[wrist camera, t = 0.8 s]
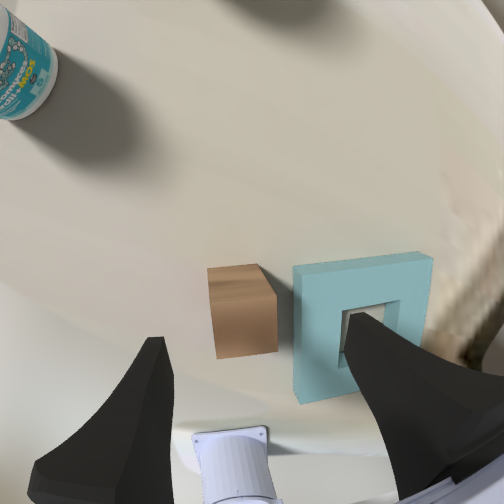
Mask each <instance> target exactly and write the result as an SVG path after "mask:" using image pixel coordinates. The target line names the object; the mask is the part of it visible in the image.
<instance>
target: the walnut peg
mask: <svg viewBox="0 0 504 504" xmlns="http://www.w3.org/2000/svg"><path fill="white" fill-rule="evenodd" d="M207 272H208V285H209V297H210V308H211V316H212V325H213V333H214V341H215V348H216V356H217V359H224V358H233V357H242V356H250V355H257V354H265V353H272V352H278V326H277V296H276V294H275V292H274V291H273V289H272V287H271V286H270V284H269V283H268V281H267V279H266V278H265V276H264V274H263V273H262V271H261V270H260V268H259V266H258V265H257V264H249V265H239V266H228V267H218V268H207Z"/></svg>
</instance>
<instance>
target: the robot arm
mask: <svg viewBox="0 0 504 504" xmlns="http://www.w3.org/2000/svg"><path fill="white" fill-rule="evenodd" d="M343 353H344V356H345V358H346V361H347V364H348V367H349V369H350V372H351V374H352V376H353V378H354V380H355V381H356V383H357V385H358V387H359V389H360V391H361V392H362V394H363V396H364V398H365V400H366V402H367V403H368V405H369V407H370V409H371V411H372V413H373V415H374V417H375V419H376V421H377V424H378V426H379V429H380V432H381V434H382V437H383V440H384V443H385V446H386V449H387V452H388V455H389V458H390V461H391V465H392V469H393V472H394V476H395V481H396V485H397V490H398V495H399V502H397V503H394V504H504V376H497V375H492V374H487V373H483V372H479V371H475V370H472V369H468V368H465V367H462V366H460V365H457V364H454V363H451V362H449V361H446V360H444V359H442V358H440V357H438V356H436V355H433V354H431V353H429V352H427V351H426V350H424V349H422V348H420V347H418V346H417V345H415V344H413V343H411V342H410V341H408V340H407V339H405V338H403V337H402V336H400V335H399V334H397V333H396V332H394V331H392V330H391V329H389V328H388V327H386V326H385V325H383V324H382V323H380V322H379V321H377V320H376V319H374V318H373V317H371V316H370V315H368V314H366V313H365V312H361V313H355V314H350V319H349V325H348V330H347V336H346V341H345V346H344V351H343ZM173 407H174V374H173V370H172V367H171V363H170V359H169V355H168V352H167V348H166V344H165V340H164V337H148V338H147V339H146V340H145V342H144V344H143V346H142V348H141V349H140V351H139V353H138V354H137V356H136V358H135V359H134V361H133V363H132V365H131V366H130V368H129V369H128V371H127V372H126V374H125V375H124V377H123V378H122V380H121V381H120V383H119V384H118V386H117V387H116V388H115V390H114V391H113V393H112V394H111V395H110V397H109V398H108V399H107V400H106V401H105V403H104V404H103V405H102V406H101V407H100V408H99V410H98V411H97V412H96V413H95V414H94V415H93V416H92V417H91V418H90V419H89V420H88V421H87V422H86V423H85V424H84V425H83V426H82V427H81V428H80V429H79V430H78V431H77V432H76V433H74V434H73V435H72V436H71V437H70V438H68V439H67V440H66V441H65V442H63V443H62V444H61V445H59V446H58V447H57V448H55V449H54V450H52V451H50V452H49V453H47V454H46V455H44V456H43V457H41V458H40V459H38V460H36V461H35V463H34V466H33V469H32V473H31V477H30V482H29V487H28V491H27V495H28V496H29V498H30V499H31V501H33V502H34V503H35V504H174V498H173V488H172V478H171V461H170V443H171V430H172V418H173ZM197 440H198V441H197ZM192 442H193V445H194V449H195V452H196V456H197V459H198V462H199V465H200V469H201V475H202V489H203V502H204V504H283V501H282V499H277V496H276V493H275V490H274V486H273V482H272V478H271V475H270V471H269V468H268V457H267V435H266V428H265V427H264V426H259V427H252V428H245V429H237V430H229V431H219V432H208V433H196V434H193V435H192Z"/></svg>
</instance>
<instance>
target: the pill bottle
mask: <svg viewBox="0 0 504 504" xmlns="http://www.w3.org/2000/svg"><path fill="white" fill-rule="evenodd" d="M57 73H58V59H57V55H56V53H55V51H54V49H53V48H52V47H51V46H50V45H49V44H48V43H47V42H46V41H45V40H43V39H42V38H41V37H40V36H39V35H37V34H36V33H35V32H34V31H33V30H31V29H30V28H29V27H28V26H27V25H25V24H24V23H23V22H22V21H21V20H19V19H18V18H17V17H16V16H14V15H13V14H12V13H11V12H10V11H8V10H7V9H6V8H5V7H3V6H2V5H1V4H0V119H5V120H18V119H22V118H24V117H26V116H28V115H30V114H31V113H33V112H34V111H35V110H37V109H38V108H39V107H40V106H41V105H42V103H43V102H44V101H45V100H46V98H47V97H48V95H49V94H50V92H51V90H52V88H53V86H54V84H55V81H56V77H57Z"/></svg>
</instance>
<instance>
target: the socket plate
mask: <svg viewBox="0 0 504 504" xmlns="http://www.w3.org/2000/svg"><path fill="white" fill-rule="evenodd" d="M432 265H433V258H432V257H430V256H427V255H425V254H422V253H420V252H410V253H402V254H393V255H385V256H377V257H369V258H360V259H351V260H343V261H334V262H325V263H316V264H307V265H298V266H293V302H294V361H293V390H294V392H295V395H296V397H297V399H298V401H299V404H305V403H310V402H315V401H319V400H324V399H328V398H332V397H337V396H341V395H345V394H349V393H353V392H356V391H360V389H359V387H358V385H357V383H356V381H355V380H354V378H353V376H352V374H351V372H350V369H349V367H348V364H347V361H346V358H345V356H344V353H343V352H341V353H339V347H340V335H341V321H342V310H348V309H354V308H359V307H365V306H370V305H376V304H381V303H386V304H385V313H384V322H383V325H385V326H386V327H388V328H389V329H391V330H392V331H394V332H396V333H397V334H399V335H400V336H402V337H403V338H405V339H407V340H408V341H410V342H411V343H413V344H415V345H417V346H418V347H420V343H421V338H422V333H423V328H424V322H425V316H426V310H427V304H428V297H429V290H430V282H431V274H432Z"/></svg>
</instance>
